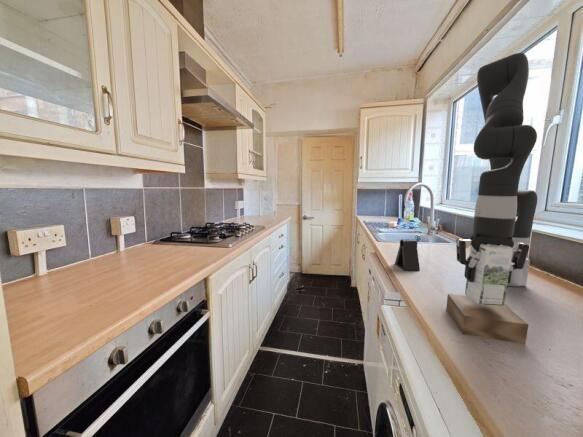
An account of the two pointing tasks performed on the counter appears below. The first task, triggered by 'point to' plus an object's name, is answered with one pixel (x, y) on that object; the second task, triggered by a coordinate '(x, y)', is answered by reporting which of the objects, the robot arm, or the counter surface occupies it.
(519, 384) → the counter surface
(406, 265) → the phone stand
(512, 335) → the walnut block
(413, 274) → the counter surface
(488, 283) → the syrup box
